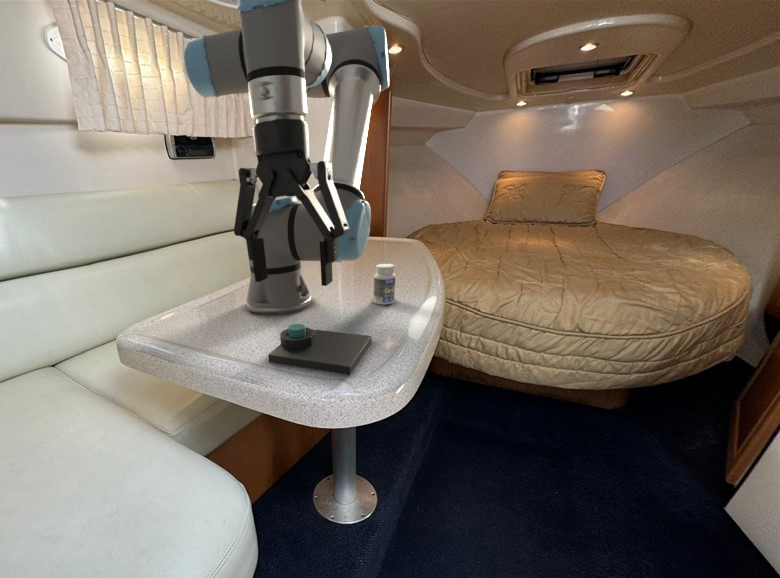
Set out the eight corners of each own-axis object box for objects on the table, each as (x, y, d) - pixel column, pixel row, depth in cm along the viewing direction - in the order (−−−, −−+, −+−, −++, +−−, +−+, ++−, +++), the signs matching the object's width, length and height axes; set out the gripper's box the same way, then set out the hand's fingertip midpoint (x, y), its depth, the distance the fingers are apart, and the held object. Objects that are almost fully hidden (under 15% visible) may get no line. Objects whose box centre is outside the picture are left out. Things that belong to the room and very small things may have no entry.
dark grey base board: (266, 361, 60) (264, 345, 59) (298, 334, 70) (296, 319, 68) (350, 375, 54) (349, 357, 53) (371, 343, 64) (372, 327, 63)
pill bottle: (386, 306, 81) (388, 268, 77) (369, 302, 84) (369, 266, 80) (398, 300, 84) (400, 264, 80) (381, 297, 87) (382, 262, 83)
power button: (285, 337, 62) (284, 329, 61) (293, 331, 64) (292, 322, 64) (301, 339, 61) (300, 331, 60) (308, 332, 63) (308, 324, 62)
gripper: (192, 129, 50) (219, 283, 60) (355, 105, 41) (356, 292, 51) (224, 133, 56) (244, 272, 66) (372, 113, 47) (370, 278, 57)
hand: (293, 281), depth 58 cm, fingers open, 11 cm apart
